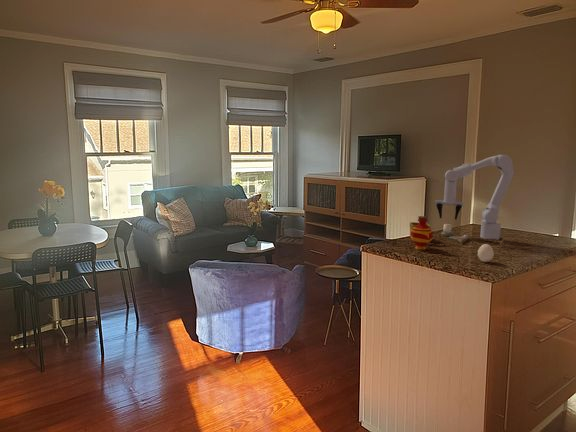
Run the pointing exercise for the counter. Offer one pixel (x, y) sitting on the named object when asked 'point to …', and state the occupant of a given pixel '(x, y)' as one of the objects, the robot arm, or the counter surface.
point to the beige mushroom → (447, 230)
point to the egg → (485, 253)
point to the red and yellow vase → (421, 233)
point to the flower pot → (413, 224)
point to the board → (457, 237)
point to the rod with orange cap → (462, 237)
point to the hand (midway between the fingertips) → (448, 218)
